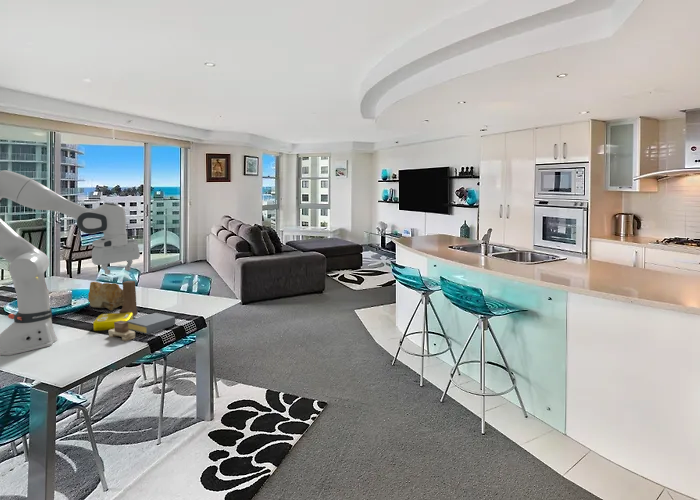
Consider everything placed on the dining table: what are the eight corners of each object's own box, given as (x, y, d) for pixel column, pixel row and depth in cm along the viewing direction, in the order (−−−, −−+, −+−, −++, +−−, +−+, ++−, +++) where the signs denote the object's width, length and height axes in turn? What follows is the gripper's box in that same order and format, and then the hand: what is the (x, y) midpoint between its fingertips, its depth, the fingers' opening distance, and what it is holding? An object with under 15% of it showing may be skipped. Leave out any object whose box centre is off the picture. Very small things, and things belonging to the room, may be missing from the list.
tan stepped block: (126, 341, 193) (125, 334, 192) (108, 336, 199) (108, 330, 198) (135, 338, 197) (135, 331, 196) (118, 333, 203) (117, 327, 202)
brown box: (121, 332, 195) (121, 324, 194) (114, 331, 197) (114, 322, 196) (128, 330, 198) (128, 322, 197) (121, 329, 200) (120, 320, 199)
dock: (146, 334, 202) (145, 326, 201) (126, 329, 208) (125, 321, 208) (175, 324, 216) (175, 316, 215) (155, 320, 222) (155, 312, 222)
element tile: (128, 329, 209) (127, 319, 209) (92, 332, 205) (91, 322, 205) (133, 320, 224) (133, 311, 223) (100, 322, 219) (100, 313, 219)
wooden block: (128, 319, 223) (126, 284, 221) (119, 319, 223) (117, 284, 221) (137, 314, 232) (135, 280, 229) (128, 314, 232) (126, 280, 230)
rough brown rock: (138, 308, 245) (138, 281, 244) (107, 313, 231) (107, 284, 231) (115, 303, 258) (115, 277, 257) (85, 307, 244) (85, 280, 243)
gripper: (132, 237, 202) (134, 267, 204) (88, 242, 184) (90, 275, 186) (142, 238, 199) (143, 269, 201) (97, 243, 181) (100, 277, 183)
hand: (117, 272), depth 193 cm, fingers open, 8 cm apart
